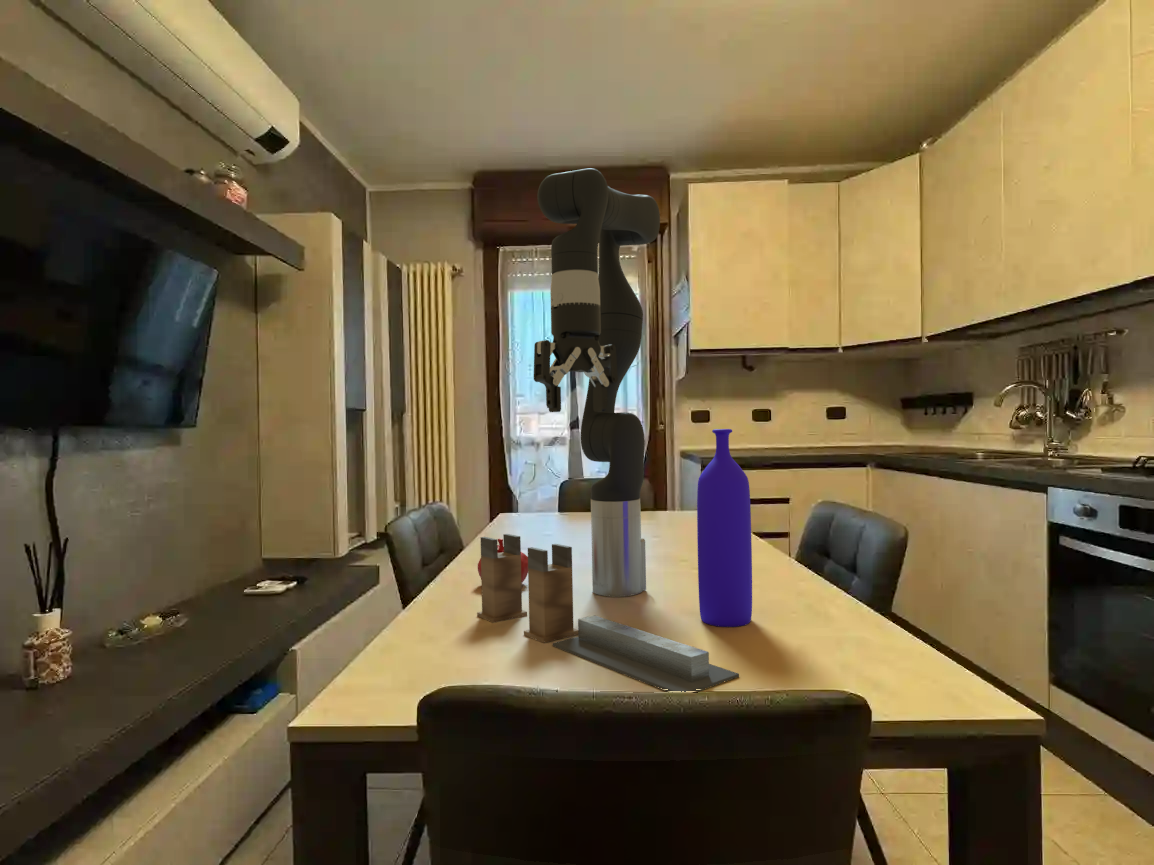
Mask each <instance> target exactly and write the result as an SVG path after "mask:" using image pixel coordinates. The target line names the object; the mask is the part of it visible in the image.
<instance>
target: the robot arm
mask: <svg viewBox="0 0 1154 865" xmlns="http://www.w3.org/2000/svg"><path fill="white" fill-rule="evenodd" d="M536 196H537V198H536V199H537V203H538V207H539V209H540V211H541V212H542V214H543V215H544V217H545V218H546V219H548V220H549V221H551V222H552V223H555V224H563V225H569V224H570V225H575V226H574V227H573V228H572V229H570V230H568V231H566V232H564V233H561V234H559V235H557V236H556V237H555V238H553V239H552V241H551V250H550V254H551V256H550V257H551V259H550V260H551V282H550V292H549V293H550V329H551V330H550V333H551V335H552V336H553V337H552V338H553V340H552V341H550V340H549V339H543V340H539V341H536V342H534V353H533V354H534V355H533V381H534V382H535V383H540V384H543V385H544V386H545V400H546V401H545V403H546V404H545V405H546V409H548V412H550V413H560V412H561V411H562V391H561V389H562V386H559V385H560V383H561V382H562V380H563V378H564V377H565V375H567V374H568V373H569V372H576V373H583V374H584V375H585V377H587V378H588V385H587V390H586V391H587V392H586V398H585V404H584V408H583V413H582V419H581V426H580V427H581V428H580V446H581V450H582V452H583V454H584V456H585V457H586V458H587V459H588V460H590V461H592V462H597V463H609V466H608V468H609V469H608V473H607V474H606V476H605V477H604V478H602V479H600V480H599V481H598V480H597V481H596V482H594V483H592V484H591V486H590V519H591V520H590V521H591V522H590V524H591V527H590V528H591V532H590V533H591V571H592V572H591V576H592V577H591V578H592V579H591V582H592V593H594V594H596V595H598V596H603V597H604V596H605V597H628V596H629V597H631V596H635V595H638V594H641V593H642V592H643V591H646V590H647V569H646V568H647V567H646V566H647V565H646V562H647V560H646V559H647V558H646V554H647V553H646V540H645V538H643V537H642V516H641V513H642V512H641V509H642V508H641V491H642V486H643V483H644V473H645V472H644V470H645V440H646V439H645V431H644V426H643V425H642V421H641V420H640V418H639V417H638V416H637V415H636V414H635V413H632V412H628V411H627V412H615V408H616V401H617V395H618V392H619V389H620V387H621V384H622V381H623V380H624V379H625V376H626V375H627V373H628V371H629V369H630V368H631V366H632V364H633V363H634V361H635V359H636V357H637V355H638V353H639V351H640V348H641V344H642V338H643V337H642V334H643V324H644V323H643V321H644V312H643V307H642V304H641V302H640V300H639V298H638V297H637V295H636V293H635V291H634V290H633V288H632V286H631V284H630V283H629V281H628V280H627V277H626V276H625V273H624V271H623V268H622V265H621V262H620V247H622V246H636V245H637V246H640V245H647V244H650V243H652V242H654V241H655V240H656V239H657V237H658V235H659V233H660V232H659V231H660V228H661V227H660V226H661V216H660V215H661V214H660V208H659V205H658V203H657V201H656V200H655V198H654V197H653V196H650V195H648V194H629V193H625V192H622V191H620V190H617V189H614V188H611V187H610V186H609V185H608V183H607V180H606V178H605V176H604V175H603V173H602V172H601V171H600V170H598V169H597V168H591V167H590V168H582V169H577V170H572V171H571V170H570V171H565V172H558V173H552V174H550V175H547V176H546V177H545V178H544V179H543V180H542V181H541V182H540V184H539V187H538V190H537V195H536ZM552 354H553V356H554V357H555V359H554V361H553V362H552V364H551V356H552Z"/></svg>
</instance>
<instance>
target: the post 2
mask: <svg viewBox="0 0 1154 865" xmlns="http://www.w3.org/2000/svg"><path fill="white" fill-rule="evenodd" d="M548 551H549V550H546V549H541V548H537V547H533V546H532V547H527V557H528V574H527V576H528V577H527V580H528V581H527V583H528V585H527V586H528V622H529V623H528V624H529V626H528V627H529V629H526V630H523V636H525V637H528V638H531V639H533V640H535V641H539V642H540V643H543V644H546V643H549V642H553V641H558V640H563V639H566V638H569V637H573V636H578V629H577V628H574V595H573V594H574V592H573V591H574V589H573V587H574V586H573V547H572V546H570V545H569V546H568V545H564V544H561V543H551V563H549V558H548V557H549V555H548V554H549V552H548Z"/></svg>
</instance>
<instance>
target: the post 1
mask: <svg viewBox="0 0 1154 865" xmlns="http://www.w3.org/2000/svg"><path fill="white" fill-rule="evenodd" d="M479 539H480V558H481V577H480V580H481V581H480V582H481V611H477V612H476V616H477V617H478V618H481V619H483V620H486V621H489V622H491V623H497V622H503V621H508V620H513V619H516V618H522V617H527V616H528V611H526V610H523V596H522V595H523V594H522V583H521V552H522V550H521V549H522V547H521V544H522V543H521V536H520V535H515V534H510V533H504V534H503V538H502V539H503V547H504V552H501V553H498V547H497V545H498V538H493V537H488V536H487V537H486V536H481V537H480V538H479Z"/></svg>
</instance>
